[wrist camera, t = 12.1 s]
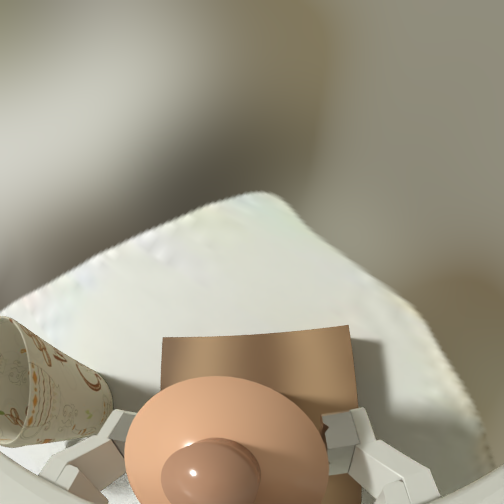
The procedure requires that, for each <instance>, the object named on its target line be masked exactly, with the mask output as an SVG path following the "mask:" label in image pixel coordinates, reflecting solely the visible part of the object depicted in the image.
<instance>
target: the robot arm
mask: <svg viewBox="0 0 504 504" xmlns="http://www.w3.org/2000/svg"><path fill="white" fill-rule="evenodd" d="M136 415H137V413H135V412H130V411H124V410H119V409H115V410H113V411H112V413H111V414H110V416H109V417H108V419H107V420H106V422H105V424H104V425H103V427H102V428H101V430H100V431H99V433H98V435H93V436H91V437H89V438H87V439H85V440H83V441H81V442H79V443H77V444H75V445H73V446H71V447H69V448H67V449H65V450H63V451H60V452H58V453H56V454H54V455H52V456H51V457H50V459H49V460H48V461H47V463H46V464H45V466H44V467H43V469H42V470H41V472H40V473H39V475H38V476H37V475H36V474H34V473H32V472H31V471H29V470H27V469H26V468H24V467H22V466H21V465H19V464H18V463H16V462H15V461H13V460H12V459H10V458H9V457H7V456H6V455H5V454H3V453H2V452H0V504H108V502H109V501H108V499H107V498H106V497H105V496H104V495H103V494H102V493H101V492H100V491H102V490H103V489H104V488H106V487H107V486H108V485H110V484H111V483H113V482H114V481H115V480H116V479H118V478H119V477H120V476H122V475H123V474H124V473H126V467H125V460H124V449H125V442H126V437H127V434H128V431H129V428H130V426H131V423H132V421H133V419H134V418H135V416H136ZM320 425H321V428H320V429H319V433H320V435H321V437H322V440H323V442H324V444H325V448H326V451H327V455H328V462H329V475H336V474H343V473H348V474H349V475H350V476H351V477H352V478H353V479H354V480H356V481H357V482H358V483H359V484H360V485H361V486H362V487H363V488H364V489H365V490H366V491H368V492H369V493H370V494H371V495H372V496H373V497H374V498H376V501H375V503H374V504H504V464H502V465H501V466H499V467H498V468H496V469H494V470H493V471H491V472H489V473H488V474H486V475H484V476H483V477H481V478H479V479H477V480H476V481H474V482H472V483H470V484H468V485H466V486H464V487H463V488H461V489H459V490H457V491H454V492H452V493H450V494H448V495H446V496H444V497H441V496H440V493H439V491H438V488H437V486H436V483H435V481H434V479H433V476H432V474H431V471H430V469H428V468H427V467H425V466H423V465H421V464H420V463H418V462H416V461H414V460H413V459H411V458H409V457H408V456H406V455H404V454H403V453H401V452H400V451H398V450H396V449H395V448H393V447H391V446H390V445H388V444H387V443H385V442H384V441H382V440H376V438H375V435H374V432H373V429H372V426H371V423H370V420H369V418H368V415H367V412H366V409H365V408H364V407H362V408H357V409H351V410H345V411H339V412H333V413H326V414H321V416H320Z"/></svg>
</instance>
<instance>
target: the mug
mask: <svg viewBox="0 0 504 504" xmlns="http://www.w3.org/2000/svg"><path fill="white" fill-rule="evenodd" d="M112 411H113V400H112V395H111V392H110V389H109V387H108V385H107V383H106V382H105V380H104V379H103V378H102V377H101V376H100V375H99V374H98V373H97V372H95V371H93V370H92V369H90V368H88V367H86V366H85V365H83V364H81V363H79V362H78V361H76V360H74V359H73V358H71V357H69V356H68V355H66V354H64V353H63V352H61V351H59V350H58V349H56V348H55V347H53V346H52V345H50V344H49V343H47V342H46V341H44V340H43V339H41V338H40V337H38V336H37V335H35V334H34V333H32V332H31V331H30V330H28V329H27V328H26V327H24V326H23V325H21V324H20V323H18V322H17V321H15V320H14V319H12V318H9V317H6V316H0V445H1V446H4V447H9V448H16V447H22V446H25V445H35V444H44V443H51V442H58V441H65V440H71V439H76V438H82V437H87V436H91V435H96V434H98V433H99V431H100V430H101V428H102V427H103V425H104V424H105V422H106V420H107V419H108V417H109V416H110V414H111V413H112Z"/></svg>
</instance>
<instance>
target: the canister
mask: <svg viewBox="0 0 504 504" xmlns="http://www.w3.org/2000/svg"><path fill="white" fill-rule="evenodd" d="M124 460H125V467H126V473H127V476H128V480H129V483H130V485H131V487H132V490H133V492H134V493H135V495H136V497H137V499H138V500H139V502H140V503H141V504H321V502H322V499H323V497H324V494H325V492H326V488H327V484H328V479H329V462H328V455H327V451H326V448H325V444H324V442H323V440H322V437H321V435H320V433H319V431H318V430H317V428H316V427H315V425H314V424H313V422H312V421H311V420H310V419H309V417H308V416H307V415H306V414H305V413H304V412H303V411H302V410H301V409H300V408H299V407H298V406H297V405H296V404H295V403H293V402H292V401H291V400H289V399H288V398H286V397H285V396H283V395H282V394H280V393H278V392H276V391H275V390H273V389H271V388H269V387H266V386H264V385H261V384H259V383H256V382H252V381H249V380H245V379H241V378H235V377H227V376H207V377H198V378H193V379H188V380H185V381H182V382H178V383H176V384H174V385H171V386H169V387H167V388H165V389H164V390H162V391H160V392H159V393H157V394H156V395H154V396H153V397H152V398H151V399H150V400H148V401H147V402H146V403H145V405H144V406H143V407H142V408H141V409H140V410H139V412H138V413H137V415H136V416H135V418H134V419H133V421H132V423H131V426H130V428H129V431H128V434H127V437H126V442H125V449H124Z"/></svg>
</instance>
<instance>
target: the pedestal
mask: <svg viewBox="0 0 504 504" xmlns="http://www.w3.org/2000/svg"><path fill="white" fill-rule="evenodd" d="M207 376H227V377H235V378H241V379H245V380H249V381H252V382H256V383H259V384H261V385H264V386H266V387H269V388H271V389H273V390H275V391H276V392H278V393H280V394H282V395H283V396H285V397H286V398H288V399H289V400H291V401H292V402H293V403H295V404H296V405H297V406H298V407H299V408H300V409H301V410H302V411H303V412H304V413H305V414H306V415H307V416H308V417H309V419H310V420H311V421H312V422H313V424H314V425H315V427H316V428H317V430H318V431H319V429H320V428H321V425H320V416H321V414H326V413H333V412H339V411H345V410H351V409H357V408H358V399H357V388H356V379H355V370H354V361H353V353H352V346H351V339H350V332H349V325H344V326H337V327H329V328H321V329H312V330H303V331H292V332H281V333H269V334H255V335H239V336H217V337H163V342H162V361H161V390H160V391H162V390H164V389H165V388H167V387H169V386H171V385H174V384H176V383H178V382H182V381H185V380H188V379H193V378H198V377H207ZM361 490H362V486H361V485H360V484H359V483H358V482H357V481H356V480H354V479H353V478H352V477H351V476H350V475H349V474H348V473H343V474H336V475H329V479H328V484H327V488H326V492H325V494H324V497H323V499H322V502H321V504H361Z"/></svg>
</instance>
